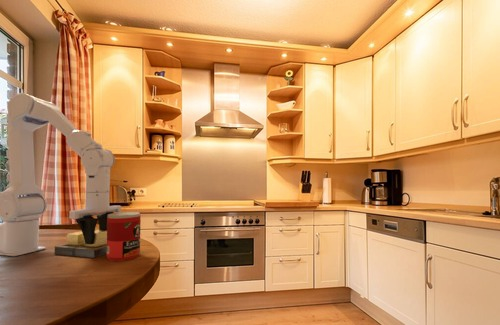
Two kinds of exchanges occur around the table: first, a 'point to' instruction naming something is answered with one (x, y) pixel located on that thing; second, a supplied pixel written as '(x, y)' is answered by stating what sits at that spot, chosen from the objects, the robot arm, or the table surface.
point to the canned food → (123, 236)
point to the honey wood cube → (98, 239)
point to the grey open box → (79, 247)
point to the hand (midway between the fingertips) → (96, 242)
